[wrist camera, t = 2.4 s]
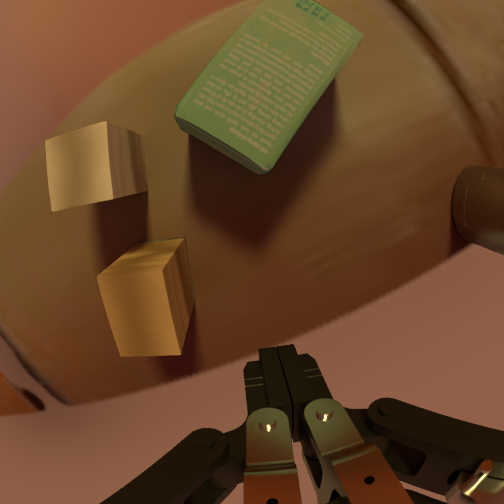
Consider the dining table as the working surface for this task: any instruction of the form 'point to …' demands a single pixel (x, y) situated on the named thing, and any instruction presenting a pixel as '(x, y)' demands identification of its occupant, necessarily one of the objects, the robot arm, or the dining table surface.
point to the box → (267, 81)
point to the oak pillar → (149, 298)
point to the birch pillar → (95, 165)
